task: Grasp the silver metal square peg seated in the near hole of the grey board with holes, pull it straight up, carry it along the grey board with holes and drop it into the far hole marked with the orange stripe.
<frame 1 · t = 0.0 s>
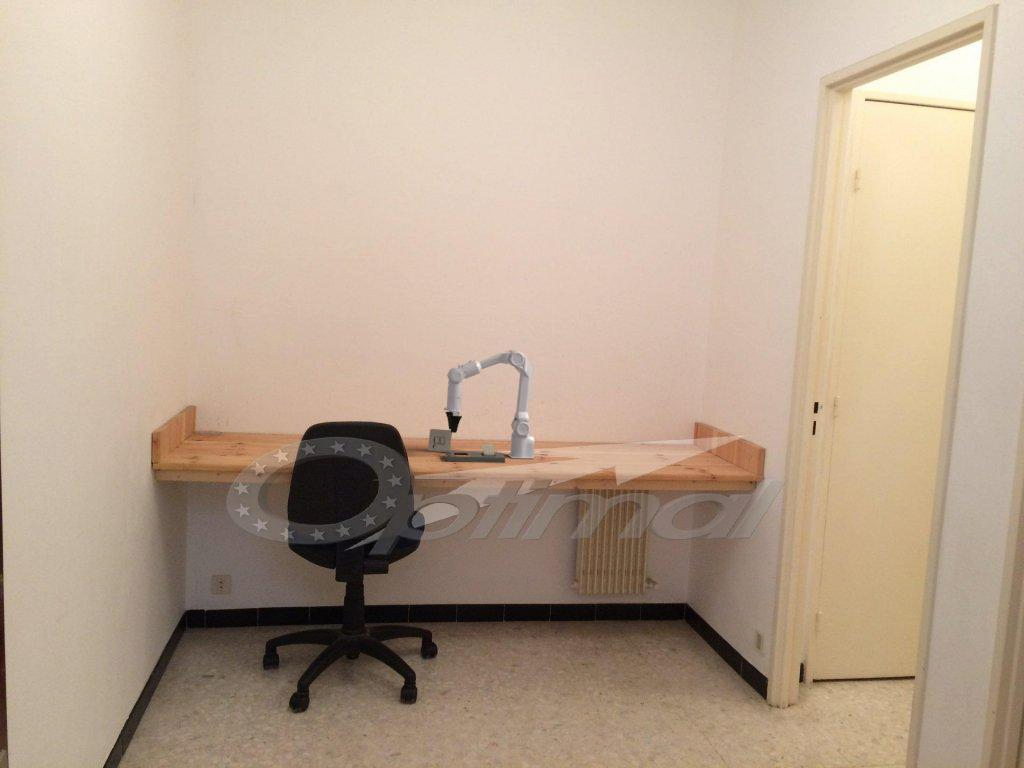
hand: (452, 430, 319), 10 cm above the table, tool pointing down, fingers open, 7 cm apart
grey board with holes: (474, 459, 315), on the table
electrical switch: (439, 451, 329), on the table
peg: (488, 459, 316), resting in grey board with holes
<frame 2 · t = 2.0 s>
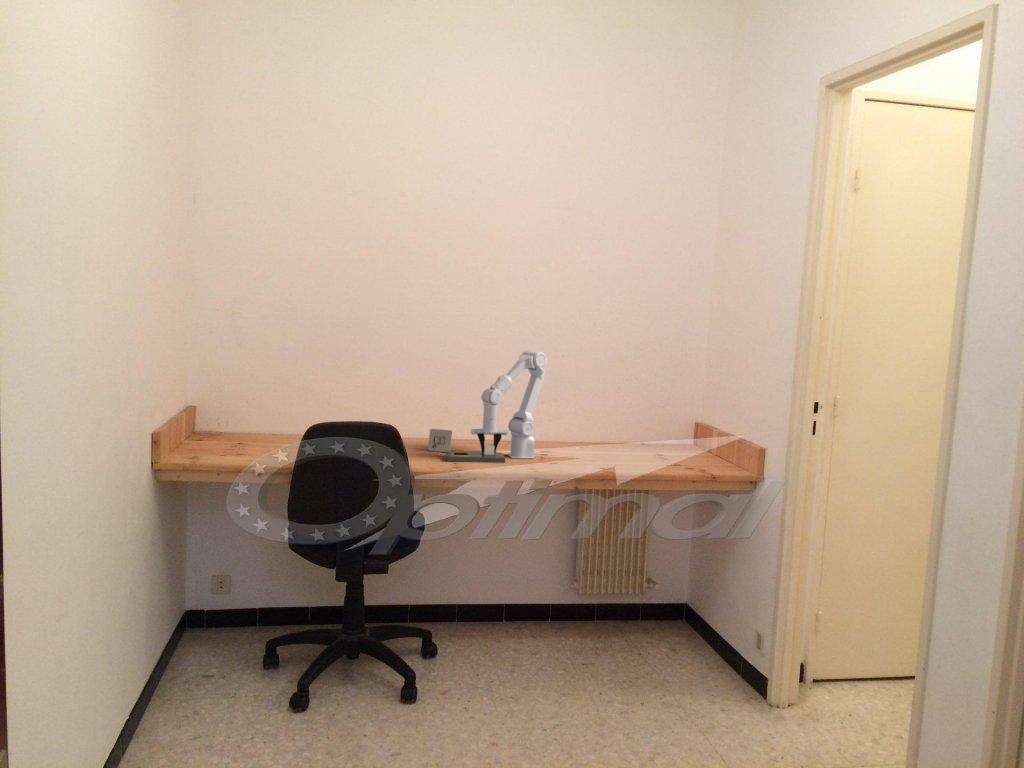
hand: (488, 452, 316), 3 cm above the table, tool pointing down, fingers closed on peg, 4 cm apart
peg: (488, 459, 316), resting in grey board with holes, touching gripper
everything else where it was.
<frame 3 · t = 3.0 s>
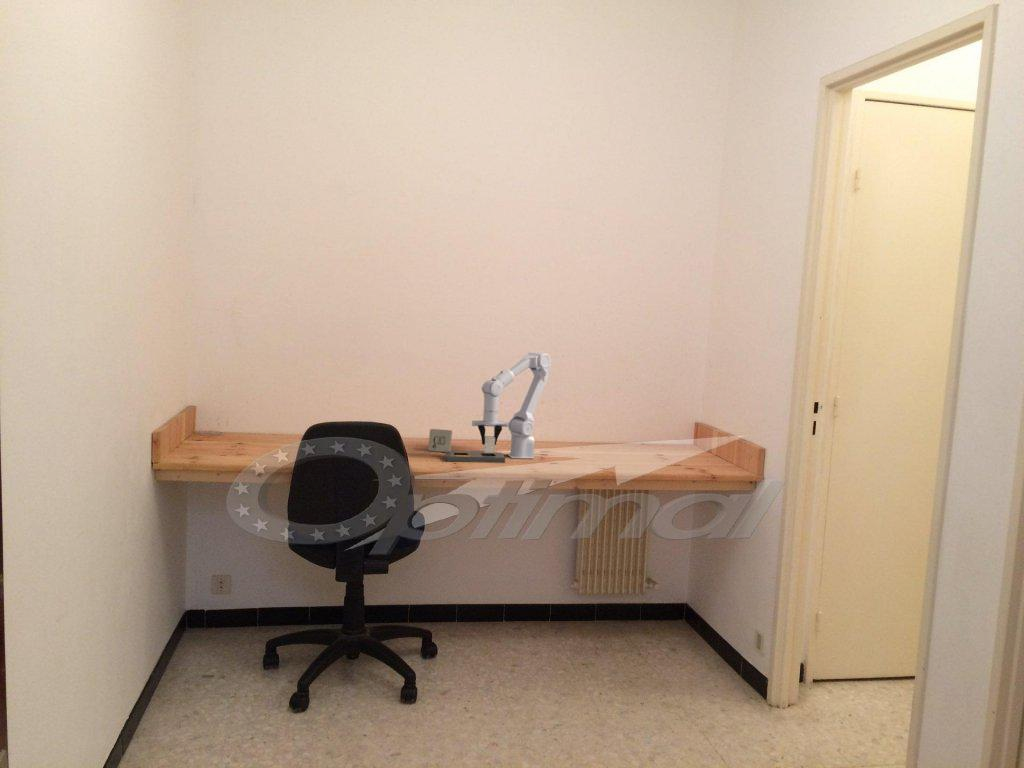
hand: (489, 444, 316), 6 cm above the table, tool pointing down, fingers closed on peg, 4 cm apart
peg: (488, 451, 316), point 3 cm above the table, touching gripper
everything else where it was.
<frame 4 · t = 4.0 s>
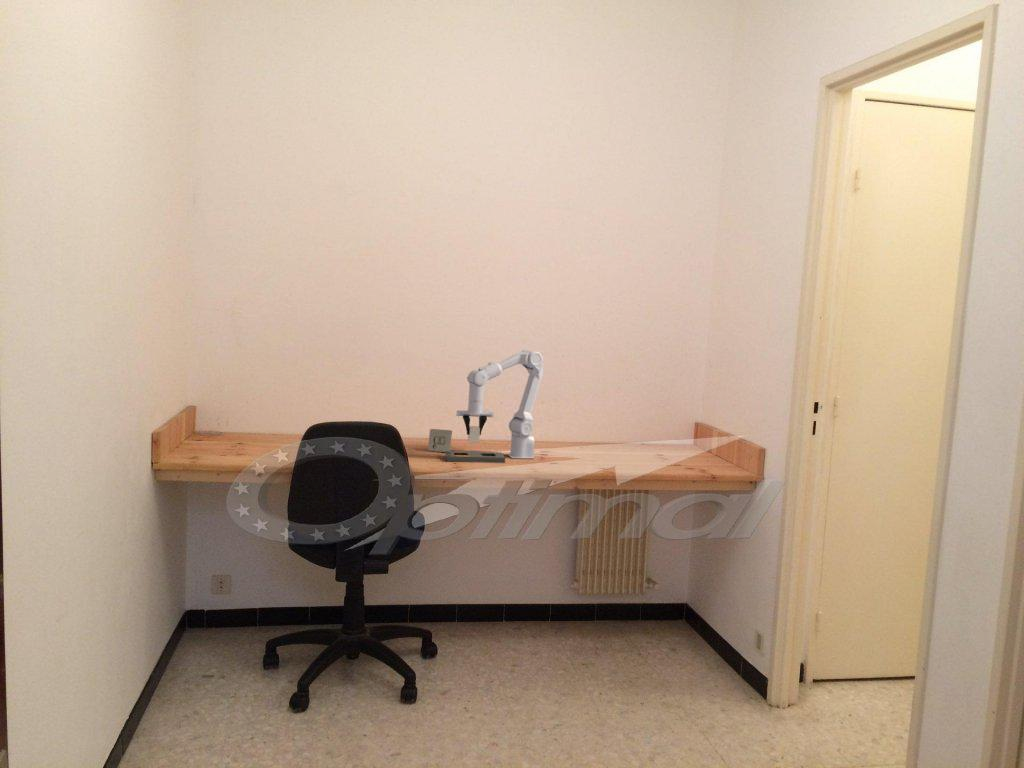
hand: (473, 434, 314), 10 cm above the table, tool pointing down, fingers closed on peg, 4 cm apart
peg: (473, 441, 314), point 7 cm above the table, touching gripper
everything else where it was.
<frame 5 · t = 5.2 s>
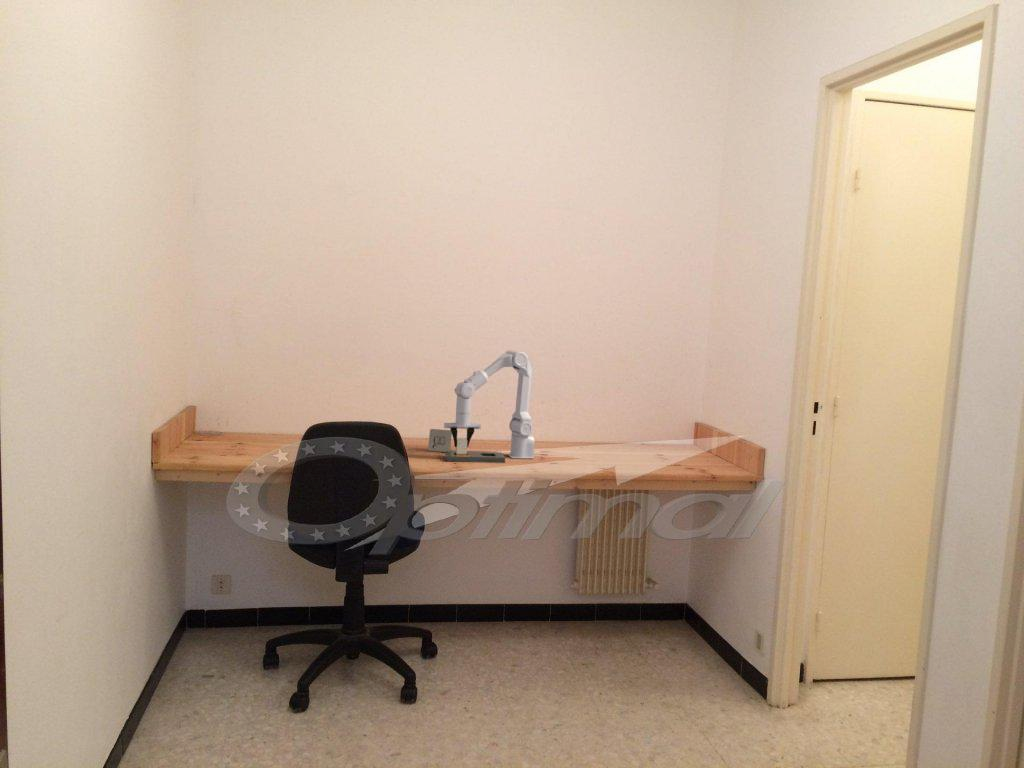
hand: (461, 446, 314), 5 cm above the table, tool pointing down, fingers closed on peg, 4 cm apart
peg: (461, 454, 314), point 2 cm above the table, touching gripper
everything else where it was.
when the fingers open (4 cm above the table, at t = 6.3 s): peg stays where it is, resting in grey board with holes.
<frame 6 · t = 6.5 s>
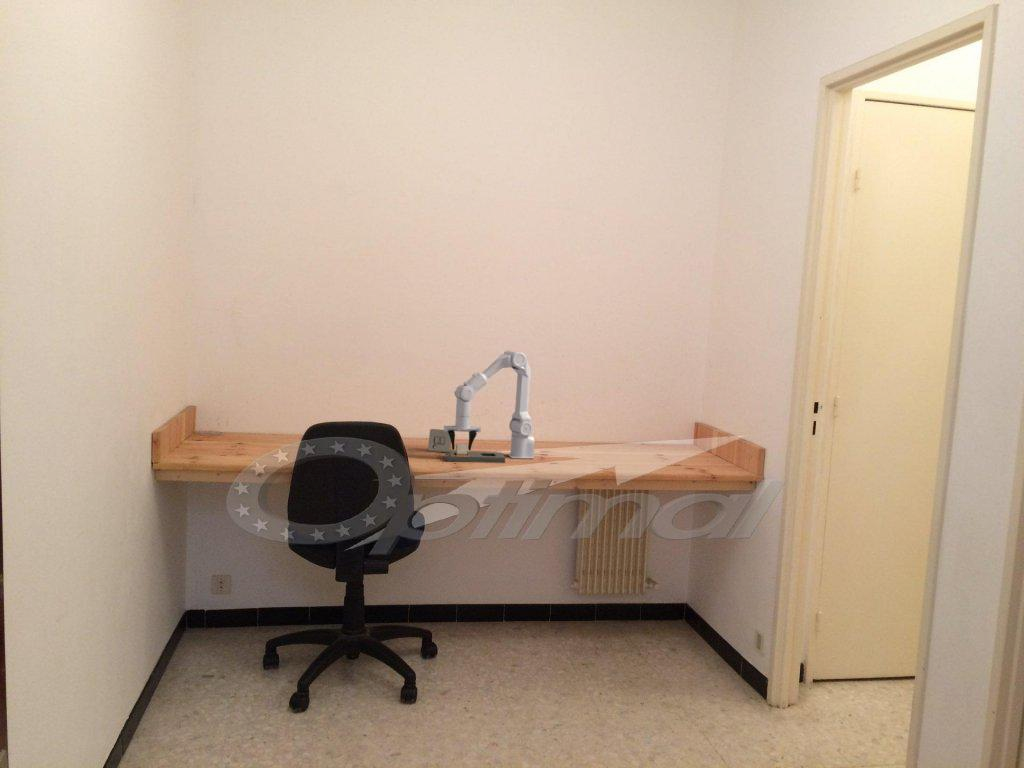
hand: (461, 449, 314), 4 cm above the table, tool pointing down, fingers open, 6 cm apart
peg: (460, 459, 314), resting in grey board with holes
everything else where it was.
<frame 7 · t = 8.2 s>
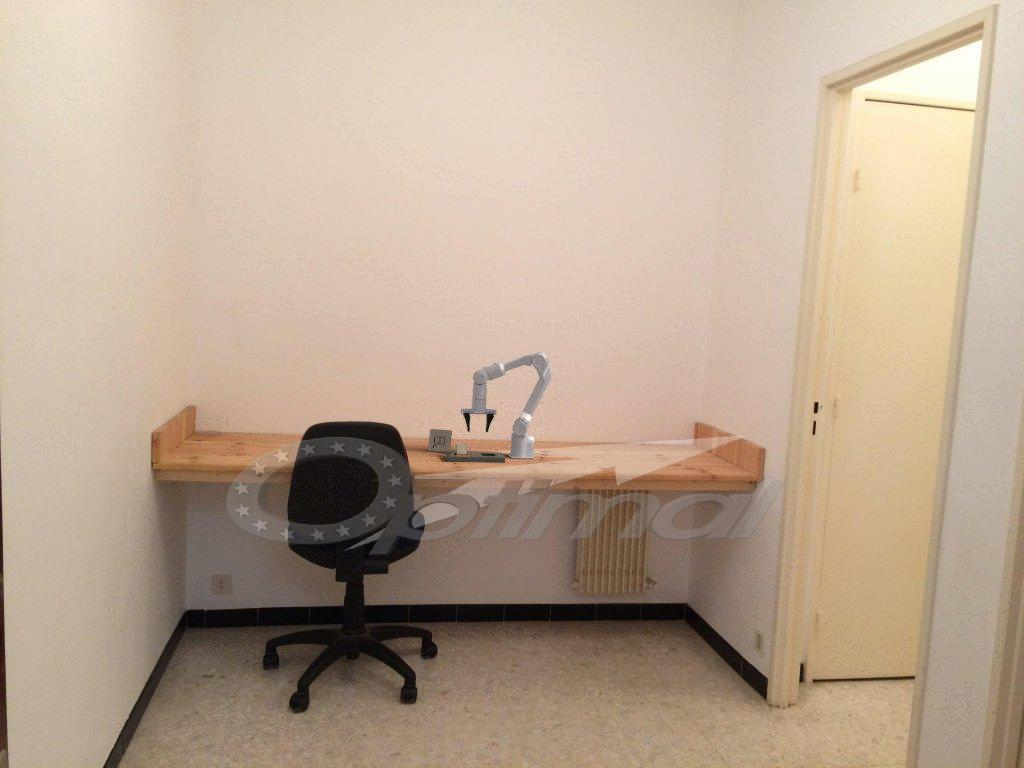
hand: (477, 431, 326), 9 cm above the table, tool pointing down, fingers open, 7 cm apart
nothing on the table moved.
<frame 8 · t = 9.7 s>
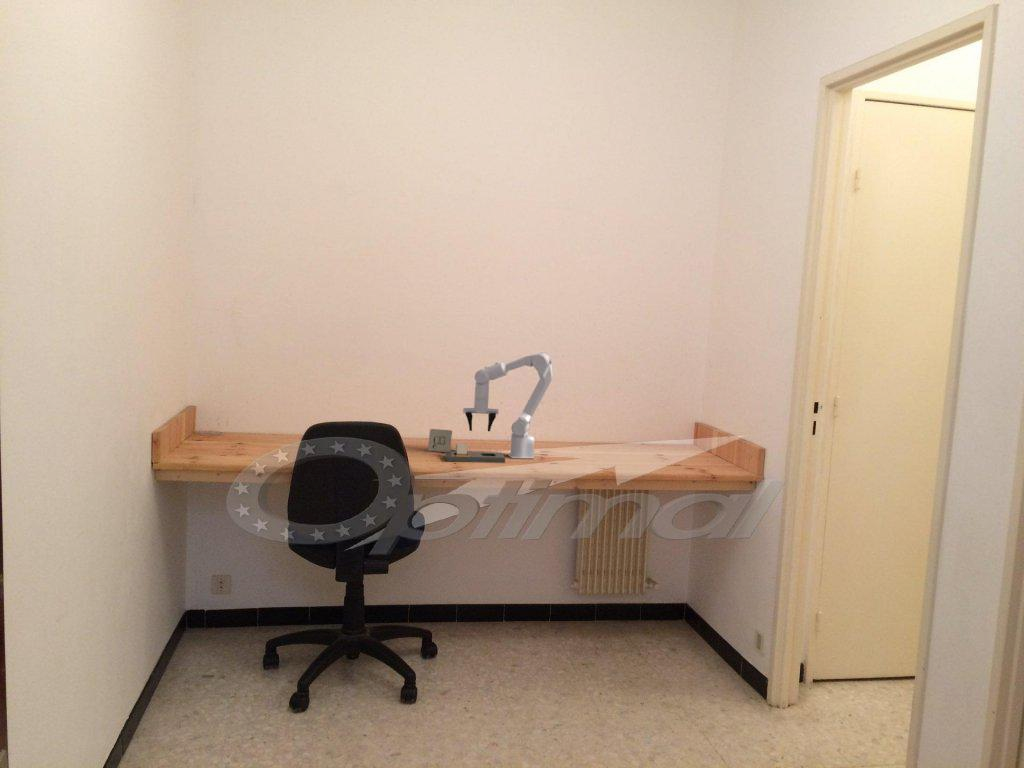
hand: (479, 430, 328), 9 cm above the table, tool pointing down, fingers open, 7 cm apart
nothing on the table moved.
at the end: peg 0.1 cm from the target spot on the grey board with holes, point 0.0 cm above the grey board with holes's base; peg tilted 0°; the gripper is holding nothing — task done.
